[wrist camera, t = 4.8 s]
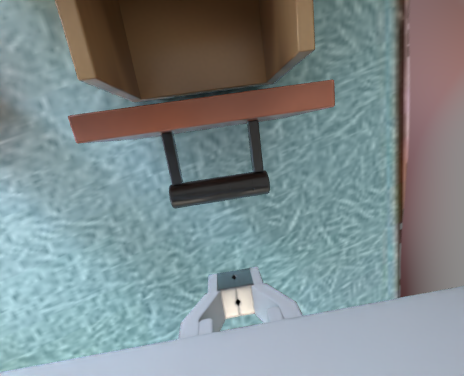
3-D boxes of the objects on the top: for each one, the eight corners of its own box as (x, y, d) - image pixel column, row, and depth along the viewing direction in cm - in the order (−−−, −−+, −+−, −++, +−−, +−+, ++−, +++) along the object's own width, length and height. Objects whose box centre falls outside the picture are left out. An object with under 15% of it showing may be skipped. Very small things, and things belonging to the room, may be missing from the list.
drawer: (289, 173, 18) (337, 197, 11) (148, 195, 18) (104, 236, 11) (268, -112, 14) (327, -376, 7) (75, -95, 13) (-87, -364, 6)
